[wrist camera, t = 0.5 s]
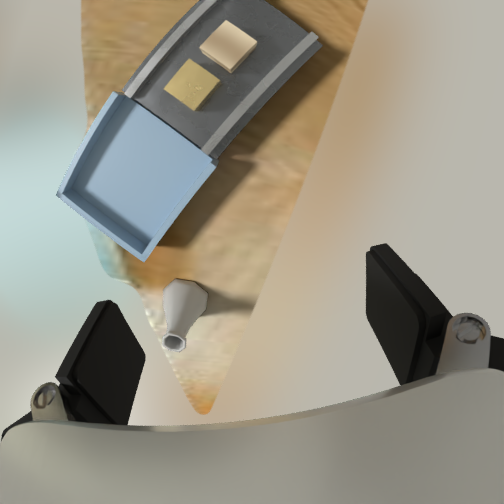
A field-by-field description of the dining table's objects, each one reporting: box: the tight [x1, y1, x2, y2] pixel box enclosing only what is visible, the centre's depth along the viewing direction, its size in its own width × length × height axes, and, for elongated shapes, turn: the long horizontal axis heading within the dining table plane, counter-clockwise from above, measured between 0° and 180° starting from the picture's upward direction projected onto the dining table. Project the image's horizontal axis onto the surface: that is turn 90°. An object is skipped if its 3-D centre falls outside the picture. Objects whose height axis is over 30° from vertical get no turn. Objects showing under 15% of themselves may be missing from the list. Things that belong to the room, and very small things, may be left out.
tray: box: [56, 91, 219, 262], centre depth 33 cm, size 15×15×5 cm
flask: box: [162, 279, 208, 352], centre depth 39 cm, size 7×7×10 cm
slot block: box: [122, 0, 323, 159], centre depth 27 cm, size 18×14×5 cm
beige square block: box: [199, 20, 257, 73], centre depth 24 cm, size 4×4×3 cm
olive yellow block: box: [164, 59, 222, 111], centre depth 26 cm, size 4×4×3 cm
